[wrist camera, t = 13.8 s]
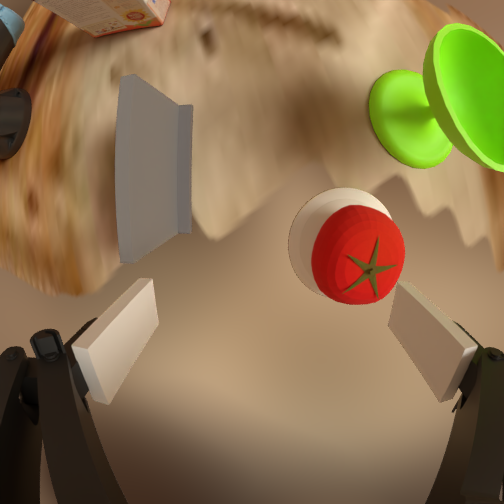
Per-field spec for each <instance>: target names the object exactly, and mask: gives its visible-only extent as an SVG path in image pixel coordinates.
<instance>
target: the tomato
mask: <svg viewBox="0 0 504 504" xmlns="http://www.w3.org/2000/svg"><path fill="white" fill-rule="evenodd" d="M404 258H405V247H404V241H403V238H402V235H401V233H400V230H399V229H398V227H397V226H396V224H395V223H394V222H393V221H392V220H391V219H390V218H389V217H388V216H387V215H386V214H384V213H382V212H381V211H379V210H376V209H374V208H371V207H367V206H363V205H348V206H345V207H343V208H341V209H339V210H338V211H336V212H334V213H333V214H332V215H331V216H330V217H329V218H328V219H327V220H326V221H325V223H324V224H323V225H322V227H321V229H320V231H319V233H318V235H317V237H316V240H315V242H314V246H313V250H312V257H311V267H312V273H313V276H314V280H315V282H316V284H317V286H318V288H319V290H320V291H321V292H322V293H324V294H325V295H326V296H327V297H329V298H331V299H333V300H335V301H337V302H341V303H345V304H350V305H353V304H354V305H360V304H370V303H374V302H377V301H379V300H380V299H383V298H384V297H385V296H386V295H387V294H388V293H389V292H390V291H391V290H392V288H393V287H394V285H395V284H396V282H397V280H398V278H399V276H400V273H401V271H402V268H403V263H404Z"/></svg>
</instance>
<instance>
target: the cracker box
mask: <svg viewBox="0 0 504 504" xmlns="http://www.w3.org/2000/svg"><path fill="white" fill-rule="evenodd" d="M33 1H34V2H36V3H38V4H40V5H42V6H43V7H45V8H47V9H49V10H50V11H52V12H54V13H56V14H57V15H59V16H61V17H62V18H64V19H66V20H67V21H69V22H71V23H72V24H74V25H75V26H77V27H78V28H80V29H82V30H83V31H85V32H86V33H88V34H89V35H91V36H92V37H94V38H96V37H100V36H104V35H108V34H112V33H117V32H122V31H127V30H132V29H138V28H144V27H151V26H160V25H163V23H164V20H165V17H166V14H167V11H168V8H169V5H170V3H171V1H170V0H33Z"/></svg>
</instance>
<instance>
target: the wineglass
mask: <svg viewBox="0 0 504 504" xmlns="http://www.w3.org/2000/svg"><path fill="white" fill-rule="evenodd" d="M369 114H370V119H371V122H372V126H373V129H374V132H375V133H376V135H377V137H378V139H379V140H380V142H381V144H382V145H383V146H384V147H385V149H386V150H387V151H388V152H389V153H390V154H391V155H392V156H393V157H394V158H396V159H397V160H398V161H400V162H401V163H403V164H405V165H408V166H410V167H413V168H420V169H426V168H431V167H435V166H436V165H438V164H439V163H441V162H443V161H444V160H445V158H446V157H447V156H448V155H449V153H450V151H451V149H452V146H453V145H454V146H455V147H456V148H457V149H458V150H459V151H460V152H461V153H463V154H464V155H466V156H467V157H469V158H470V159H472V160H473V161H475V162H476V163H478V164H480V165H481V166H483V167H486V168H490V169H493V170H497V171H502V172H504V52H503V51H502V50H501V49H500V47H499V46H498V45H497V44H496V43H495V42H494V41H493V40H491V39H490V38H489V37H488V36H486V35H485V34H484V33H482V32H481V31H479V30H477V29H475V28H473V27H471V26H469V25H464V24H459V23H454V24H449V25H446V26H445V27H443V28H442V29H441V30H440V31H439V32H438V33H437V34H436V35H435V37H434V38H433V39H432V40H431V41H430V44H429V46H428V49H427V51H426V54H425V59H424V63H423V76H422V75H420V74H418V73H416V72H413V71H409V70H392V71H390V72H388V73H385V74H383V75H382V76H381V77H380V78H379V79H378V80H377V81H376V82H375V84H374V86H373V88H372V90H371V92H370V98H369Z"/></svg>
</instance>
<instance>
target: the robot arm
mask: <svg viewBox="0 0 504 504" xmlns="http://www.w3.org/2000/svg"><path fill="white" fill-rule="evenodd" d="M24 26H25V23H24V21H23V19H22V18H21V17H20V16H19V15H18V14H16V13H15V12H14V11H12V10H11V9H9V8H7V7H5V6H3V5H2V4H0V71H1V69H2V67H3V65H4V63H5V61H6V59H7V58H8V56H9V54H10V52H11V51H12V49H13V48H14V47H15V46H16V42H17V40H18V39H19V37H20V35H21V34H22V32H23V30H24ZM30 118H31V99H30V96H29V93H28V92H27V91H26V90H24V89H20V88H11V89H6V90H2V91H0V159H8V158H10V157H12V156H13V155H14V154H15V153H16V152H17V151H18V149H19V148H20V146H21V145H22V143H23V141H24V138H25V136H26V133H27V130H28V127H29V123H30ZM158 324H159V321H158V316H157V308H156V301H155V294H154V287H153V279H150V278H139V279H138V280H137V281H136V282H135V283H134V284H133V285H132V286H131V287H130V288H129V289H127V290H126V291H125V292H124V293H123V294H122V295H121V296H120V297H119V298H118V299H117V300H116V301H115V302H114V303H113V304H112V305H111V306H110V307H109V308H108V309H107V310H106V311H105V312H104V313H103V314H102V315H101V316H100V317H99V318H94V319H92V320H91V321H89V322H87V323H86V324H85V325H84V326H83V327H82V328H81V329H80V330H79V331H78V332H77V333H76V334H75V335H74V336H73V337H72V338H71V339H70V340H69V341H68V342H67V343H66V344H65V345H63V342H62V340H61V337H60V334H59V332H58V331H57V330H55V329H44V330H41V331H39V332H37V333H35V334H34V335H33V336H32V337H31V339H30V343H31V346H32V348H33V351H34V353H35V355H36V358H30V357H27V356H26V353H25V351H24V349H23V348H21V347H17V346H15V347H10V348H7V349H6V350H5V351H4V352H3V353H2V354H1V355H0V504H40V464H41V450H42V440H43V443H44V449H45V454H46V459H47V464H48V468H49V473H50V477H51V481H52V485H53V488H54V492H55V495H56V499H57V502H58V504H128V502H127V500H126V498H125V496H124V494H123V492H122V490H121V488H120V486H119V484H118V482H117V480H116V478H115V476H114V473H113V471H112V469H111V466H110V464H109V462H108V460H107V457H106V455H105V453H104V450H103V447H102V444H101V442H100V439H99V436H98V434H97V431H96V428H95V425H94V422H93V419H92V416H91V412H90V409H89V406H88V402H87V400H86V398H85V395H86V394H87V392H88V391H90V394H91V396H92V398H93V400H94V401H97V402H101V403H104V404H108V405H109V404H110V402H111V401H112V399H113V397H114V396H115V394H116V392H117V391H118V389H119V387H120V385H121V384H122V382H123V381H124V379H125V377H126V376H127V374H128V372H129V370H130V369H131V367H132V366H133V364H134V363H135V361H136V359H137V358H138V356H139V354H140V353H141V351H142V350H143V348H144V346H145V345H146V343H147V341H148V340H149V339H150V337H151V335H152V334H153V332H154V331H155V329H156V328H157V326H158ZM388 327H389V328H390V329H391V331H392V332H393V334H394V335H395V336H396V338H397V339H398V341H399V342H400V344H401V345H402V346H403V348H404V349H405V351H406V352H407V354H408V355H409V357H410V358H411V360H412V361H413V362H414V364H415V365H416V367H417V368H418V370H419V371H420V373H421V374H422V376H423V377H424V379H425V381H426V382H427V384H428V385H429V387H430V388H431V390H432V391H433V393H434V395H435V396H436V398H437V399H438V401H439V402H443V401H447V400H450V399H453V397H454V395H455V393H456V392H457V390H458V388H459V389H460V390H461V392H462V394H461V396H460V398H459V400H458V401H457V403H456V405H455V406H454V408H453V410H452V412H454V411H455V409H457V410H456V415H455V419H454V423H453V427H452V431H451V435H450V438H449V441H448V445H447V448H446V451H445V454H444V457H443V461H442V463H441V466H440V469H439V471H438V474H437V477H436V479H435V482H434V484H433V487H432V489H431V492H430V494H429V496H428V498H427V501H426V503H425V504H504V354H503V352H502V351H500V350H499V349H496V348H492V347H488V348H485V349H484V348H483V347H482V346H481V345H480V344H479V343H478V342H477V341H476V340H475V339H474V338H473V337H472V336H471V335H469V333H468V332H467V331H465V329H464V328H463V327H462V326H461V325H459V324H458V323H456V322H454V321H453V320H451V319H450V318H449V317H448V316H447V315H446V314H445V313H444V312H442V311H441V310H440V309H439V308H438V307H437V306H436V305H435V304H433V302H431V301H430V300H429V299H428V298H427V297H426V296H425V295H424V294H422V293H421V292H420V291H419V290H418V289H417V288H415V287H414V286H413V285H412V284H411V283H410V282H397V286H396V291H395V296H394V301H393V305H392V310H391V315H390V319H389V323H388ZM501 485H503V496H502V501H500V500H499V494H500V489H501Z"/></svg>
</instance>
